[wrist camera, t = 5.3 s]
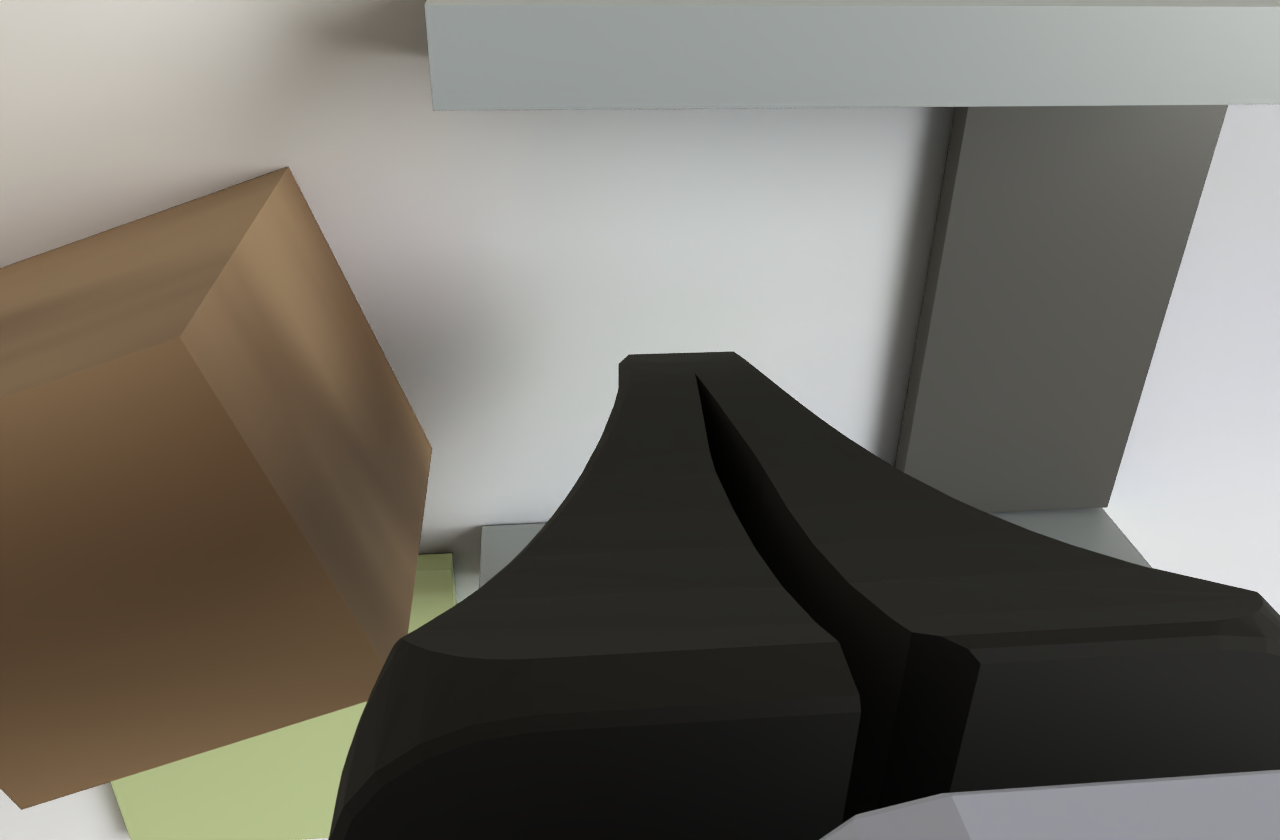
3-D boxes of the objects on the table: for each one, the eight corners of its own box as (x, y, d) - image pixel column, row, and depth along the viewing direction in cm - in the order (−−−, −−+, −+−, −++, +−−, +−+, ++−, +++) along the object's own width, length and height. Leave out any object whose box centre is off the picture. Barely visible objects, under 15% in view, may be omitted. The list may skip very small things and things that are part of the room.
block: (432, 446, 15) (400, 690, 11) (155, 537, 16) (21, 809, 11) (289, 165, 13) (180, 338, 9) (-32, 279, 13) (-289, 498, 9)
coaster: (475, 808, 19) (475, 827, 19) (141, 832, 19) (135, 851, 18) (451, 553, 16) (450, 569, 16) (53, 572, 16) (42, 589, 15)
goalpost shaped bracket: (1079, 546, 18) (1157, 649, 15) (485, 576, 17) (480, 690, 14) (1246, -26, 13) (1390, 6, 11) (440, -30, 12) (423, 4, 10)
